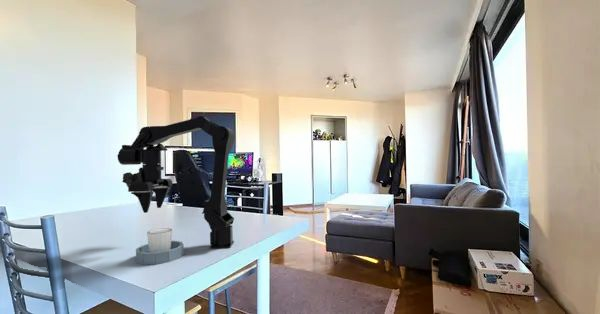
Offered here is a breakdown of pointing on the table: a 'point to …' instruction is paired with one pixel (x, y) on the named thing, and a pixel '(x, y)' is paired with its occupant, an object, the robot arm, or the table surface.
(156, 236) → the shot glass
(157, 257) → the bowl
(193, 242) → the table surface
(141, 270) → the table surface
